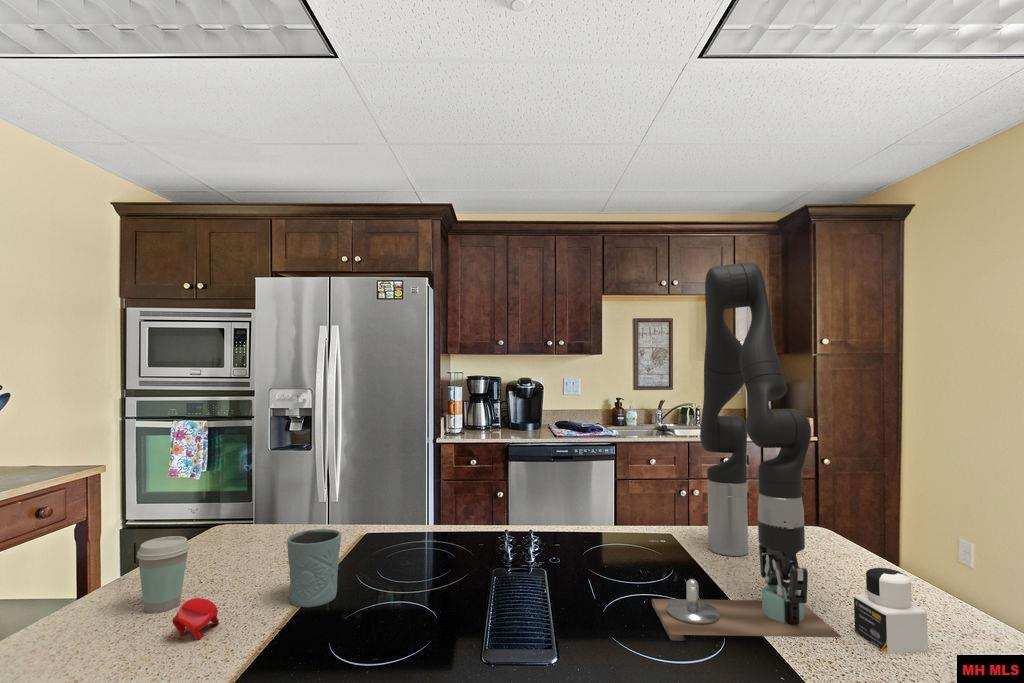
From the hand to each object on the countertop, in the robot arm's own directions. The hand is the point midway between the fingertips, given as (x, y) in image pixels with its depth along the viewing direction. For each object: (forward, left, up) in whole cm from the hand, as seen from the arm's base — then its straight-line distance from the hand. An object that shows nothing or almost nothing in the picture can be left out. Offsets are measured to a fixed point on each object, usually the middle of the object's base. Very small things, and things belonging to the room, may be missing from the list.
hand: (783, 614), depth 97 cm
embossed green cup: (-7, -88, -1) cm, 88 cm away
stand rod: (0, 0, -1) cm, 1 cm away
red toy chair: (+8, -102, -1) cm, 102 cm away
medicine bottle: (+9, +13, -1) cm, 16 cm away
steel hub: (0, -16, -1) cm, 16 cm away
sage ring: (0, 0, 0) cm, 0 cm away
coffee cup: (-2, -115, -1) cm, 115 cm away
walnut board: (+1, -8, -1) cm, 8 cm away
